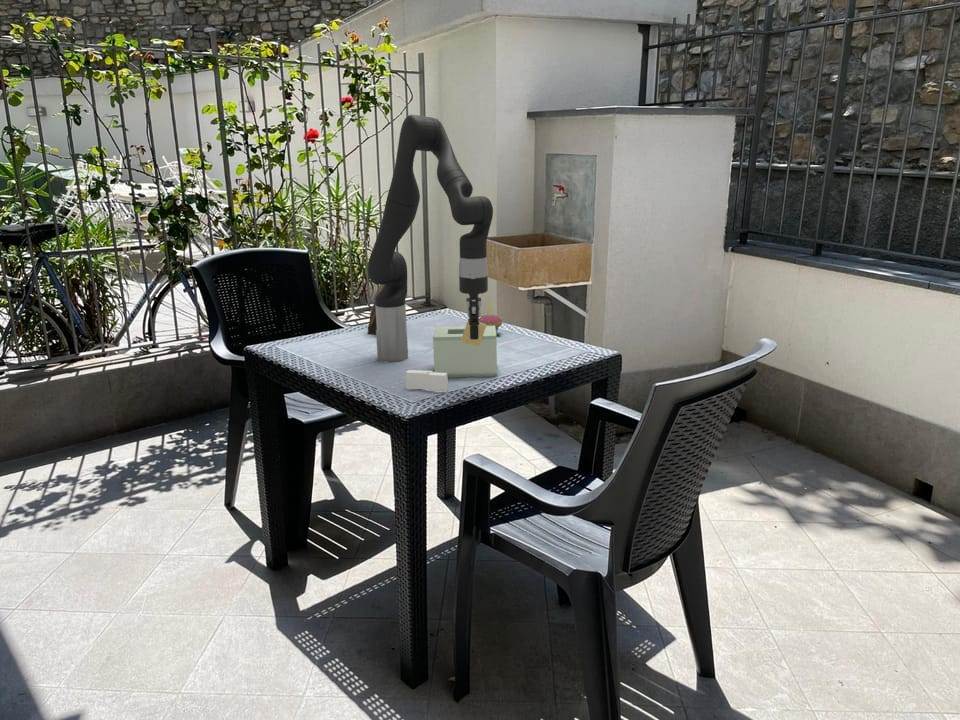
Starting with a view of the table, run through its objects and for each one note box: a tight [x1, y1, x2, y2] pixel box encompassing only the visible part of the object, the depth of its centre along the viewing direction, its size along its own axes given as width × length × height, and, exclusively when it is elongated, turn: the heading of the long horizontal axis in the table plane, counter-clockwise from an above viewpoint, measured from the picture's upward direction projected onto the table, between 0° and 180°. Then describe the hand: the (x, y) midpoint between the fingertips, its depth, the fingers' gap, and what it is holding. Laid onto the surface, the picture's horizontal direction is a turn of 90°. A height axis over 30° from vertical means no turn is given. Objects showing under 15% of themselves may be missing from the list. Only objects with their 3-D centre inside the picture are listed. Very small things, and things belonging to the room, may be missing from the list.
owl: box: [367, 284, 384, 336], centre depth 262 cm, size 13×13×20 cm
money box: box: [432, 325, 498, 378], centre depth 218 cm, size 18×12×12 cm, turn 91°
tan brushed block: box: [461, 317, 486, 347], centre depth 200 cm, size 5×3×6 cm, turn 91°
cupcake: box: [479, 299, 503, 335], centre depth 257 cm, size 9×8×12 cm
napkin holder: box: [405, 369, 449, 393], centre depth 203 cm, size 15×11×6 cm
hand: (474, 337), depth 200 cm, fingers closed on tan brushed block, 2 cm apart
